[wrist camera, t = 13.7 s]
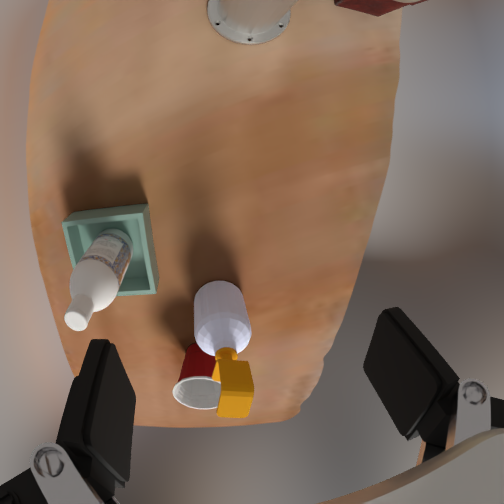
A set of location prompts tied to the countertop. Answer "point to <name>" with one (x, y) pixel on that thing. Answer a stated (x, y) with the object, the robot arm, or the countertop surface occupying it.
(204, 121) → the countertop surface
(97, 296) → the bath foam
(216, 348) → the soap bottle
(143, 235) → the tub
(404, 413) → the robot arm
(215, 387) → the plastic cup
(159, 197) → the countertop surface
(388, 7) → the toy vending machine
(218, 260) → the countertop surface
